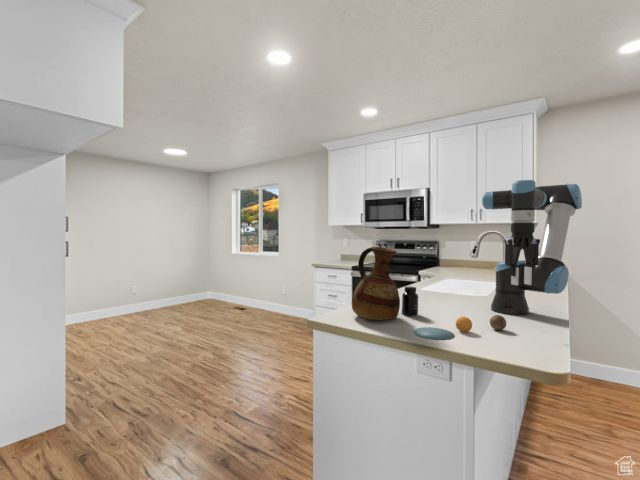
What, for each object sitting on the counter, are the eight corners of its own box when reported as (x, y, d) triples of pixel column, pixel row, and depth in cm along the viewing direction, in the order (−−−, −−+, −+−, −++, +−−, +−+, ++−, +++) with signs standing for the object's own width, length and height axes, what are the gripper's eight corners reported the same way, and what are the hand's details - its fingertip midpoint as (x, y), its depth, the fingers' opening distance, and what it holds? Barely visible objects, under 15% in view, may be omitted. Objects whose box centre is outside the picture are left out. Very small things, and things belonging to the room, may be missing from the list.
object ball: (465, 329, 125) (466, 314, 125) (475, 333, 120) (475, 318, 120) (452, 330, 124) (452, 315, 124) (461, 334, 119) (461, 319, 119)
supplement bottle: (418, 316, 143) (419, 288, 143) (402, 315, 144) (402, 288, 144) (417, 312, 150) (417, 286, 149) (401, 312, 151) (401, 285, 151)
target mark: (440, 327, 128) (440, 326, 128) (462, 338, 114) (462, 338, 114) (406, 328, 125) (406, 328, 125) (424, 341, 112) (424, 340, 112)
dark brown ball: (499, 327, 128) (499, 313, 128) (509, 331, 122) (510, 316, 122) (486, 328, 127) (486, 313, 127) (496, 332, 121) (496, 317, 121)
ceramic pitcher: (391, 327, 128) (392, 248, 127) (343, 320, 137) (344, 246, 136) (405, 315, 145) (406, 246, 144) (361, 310, 154) (362, 245, 154)
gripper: (508, 221, 120) (507, 286, 121) (552, 222, 123) (550, 285, 124) (494, 222, 127) (493, 283, 128) (535, 222, 131) (533, 282, 131)
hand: (521, 284), depth 126 cm, fingers open, 5 cm apart
